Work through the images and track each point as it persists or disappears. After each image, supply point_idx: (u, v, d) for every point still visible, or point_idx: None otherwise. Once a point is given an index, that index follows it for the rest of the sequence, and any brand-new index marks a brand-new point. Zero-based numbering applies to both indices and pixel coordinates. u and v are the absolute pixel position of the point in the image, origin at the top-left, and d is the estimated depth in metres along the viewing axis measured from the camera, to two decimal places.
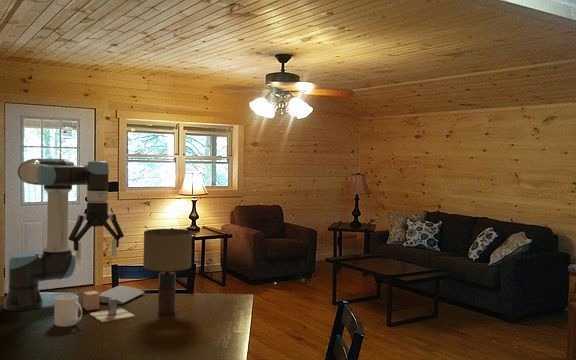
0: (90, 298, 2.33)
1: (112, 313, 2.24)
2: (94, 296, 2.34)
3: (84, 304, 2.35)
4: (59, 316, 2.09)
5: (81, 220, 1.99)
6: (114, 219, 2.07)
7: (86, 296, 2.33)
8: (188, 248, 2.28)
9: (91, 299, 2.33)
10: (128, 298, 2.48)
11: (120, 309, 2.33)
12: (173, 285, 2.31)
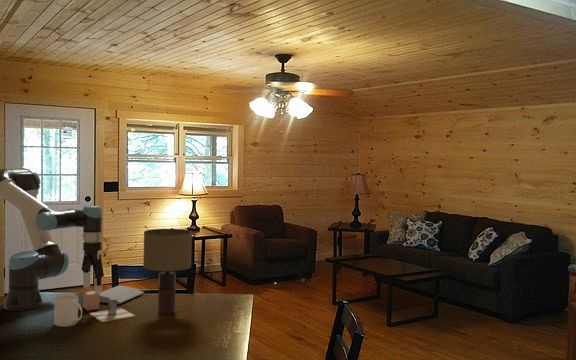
0: (90, 298, 2.33)
1: (112, 313, 2.24)
2: (94, 296, 2.34)
3: (84, 304, 2.35)
4: (59, 316, 2.09)
5: (84, 254, 2.39)
6: (94, 259, 2.29)
7: (86, 296, 2.33)
8: (188, 248, 2.28)
9: (91, 299, 2.33)
10: (126, 298, 2.48)
11: (120, 309, 2.33)
12: (173, 285, 2.31)
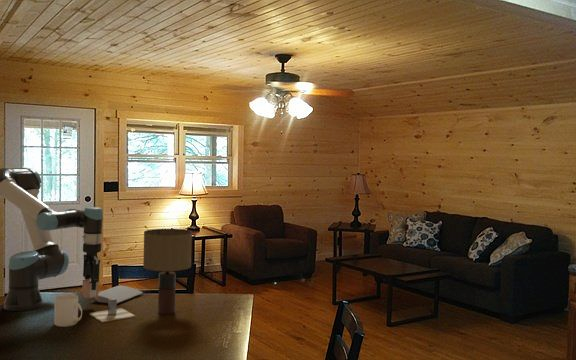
0: (89, 286, 2.33)
1: (112, 313, 2.24)
2: None
3: (83, 292, 2.35)
4: (59, 316, 2.09)
5: (84, 258, 2.39)
6: (93, 263, 2.30)
7: (85, 284, 2.33)
8: (188, 248, 2.28)
9: None
10: (124, 298, 2.48)
11: (120, 309, 2.33)
12: (173, 285, 2.31)
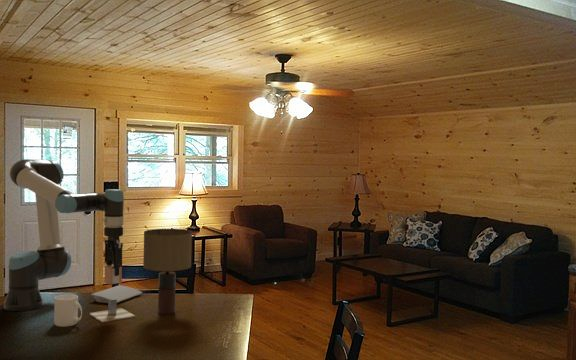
0: None
1: (112, 313, 2.24)
2: None
3: (106, 278, 2.24)
4: (59, 316, 2.09)
5: (105, 243, 2.28)
6: (115, 247, 2.19)
7: (108, 269, 2.22)
8: (188, 248, 2.28)
9: None
10: (122, 298, 2.48)
11: (120, 309, 2.33)
12: (173, 285, 2.31)
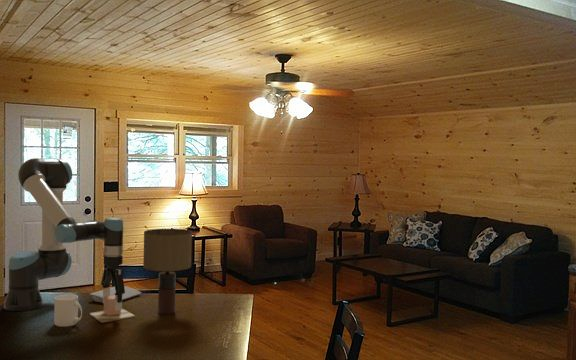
0: (111, 303, 2.22)
1: None
2: None
3: (105, 309, 2.24)
4: (59, 316, 2.09)
5: (104, 269, 2.29)
6: (116, 274, 2.19)
7: (107, 301, 2.23)
8: (188, 248, 2.28)
9: (112, 304, 2.23)
10: None
11: None
12: (173, 285, 2.31)
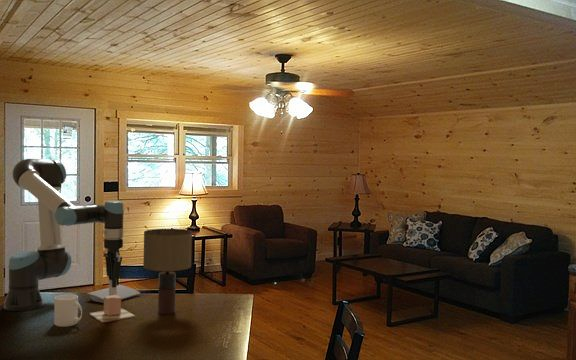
0: (111, 303, 2.22)
1: None
2: (115, 301, 2.23)
3: (105, 309, 2.24)
4: (59, 316, 2.09)
5: (105, 257, 2.28)
6: (115, 261, 2.20)
7: (107, 301, 2.23)
8: (188, 248, 2.28)
9: (112, 304, 2.23)
10: None
11: None
12: (173, 285, 2.31)
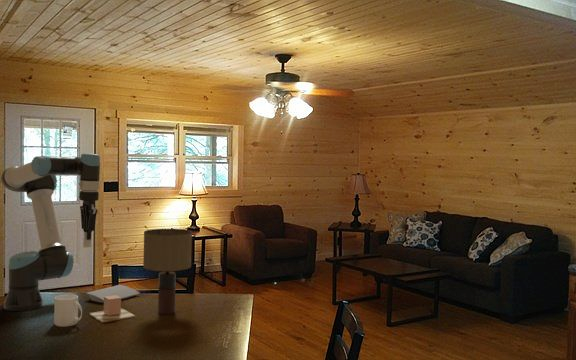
0: (111, 303, 2.22)
1: None
2: (115, 301, 2.23)
3: (105, 309, 2.24)
4: (59, 316, 2.09)
5: (81, 209, 2.27)
6: (90, 213, 2.20)
7: (107, 301, 2.23)
8: (188, 248, 2.28)
9: (112, 304, 2.23)
10: None
11: None
12: (173, 285, 2.31)
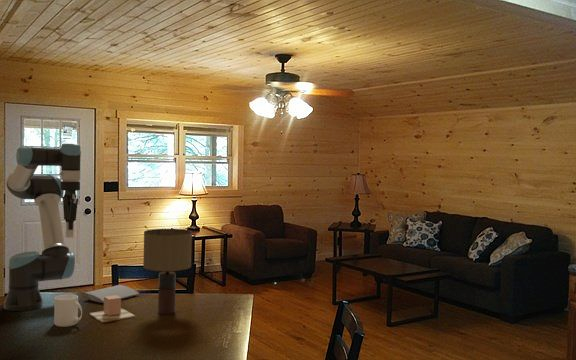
0: (111, 303, 2.22)
1: None
2: (115, 301, 2.23)
3: (105, 309, 2.24)
4: (59, 316, 2.09)
5: (63, 200, 2.27)
6: (71, 202, 2.19)
7: (107, 301, 2.23)
8: (188, 248, 2.28)
9: (112, 304, 2.23)
10: None
11: None
12: (173, 285, 2.31)
